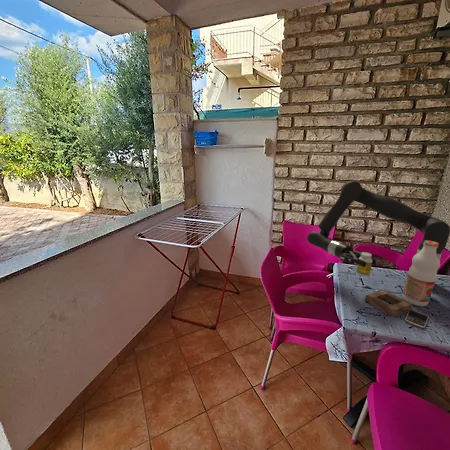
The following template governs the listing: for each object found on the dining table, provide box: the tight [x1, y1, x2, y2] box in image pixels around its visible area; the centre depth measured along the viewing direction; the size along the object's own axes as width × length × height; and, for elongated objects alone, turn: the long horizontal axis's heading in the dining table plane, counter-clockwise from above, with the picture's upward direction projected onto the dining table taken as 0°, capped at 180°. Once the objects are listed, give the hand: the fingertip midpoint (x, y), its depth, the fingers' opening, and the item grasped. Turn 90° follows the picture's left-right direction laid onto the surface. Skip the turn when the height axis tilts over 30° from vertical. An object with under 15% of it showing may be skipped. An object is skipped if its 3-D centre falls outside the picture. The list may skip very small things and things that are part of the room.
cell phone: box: [404, 308, 430, 329], centre depth 96 cm, size 6×11×1 cm, turn 133°
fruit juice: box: [401, 240, 441, 307], centre depth 104 cm, size 9×9×28 cm
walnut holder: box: [364, 289, 413, 318], centre depth 104 cm, size 12×12×3 cm
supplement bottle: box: [356, 251, 373, 277], centre depth 107 cm, size 5×5×10 cm
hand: (370, 263), depth 105 cm, fingers closed on supplement bottle, 5 cm apart
